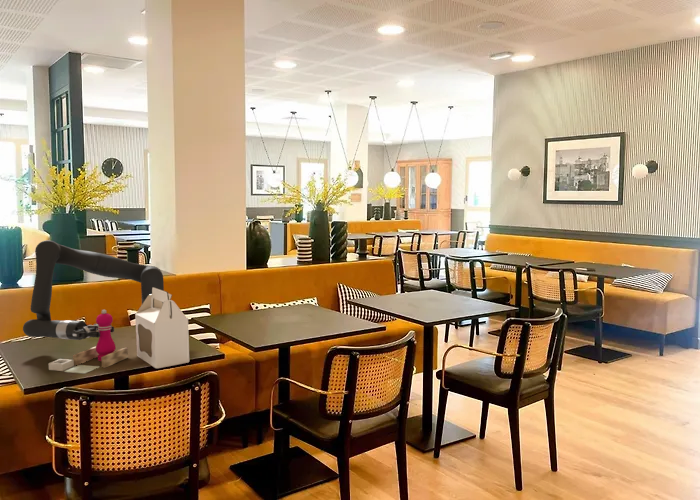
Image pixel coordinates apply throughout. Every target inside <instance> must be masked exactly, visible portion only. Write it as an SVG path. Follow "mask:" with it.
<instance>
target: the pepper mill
mask: <svg viewBox="0 0 700 500" xmlns="http://www.w3.org/2000/svg"><path fill="white" fill-rule="evenodd" d="M112 323H113V316H112V314H110V313H107V310H106V309H101V313H100V314H98V315H97V317H96V319H95V324H98V325H99V326H98V330H99V332H100V337H98V340H97V342H96V345H95V346H96V352H97V353H98V354H99V355H98V357H97V361H99V362H102V360H101V357H103V356H105V355H108V354H110V353H112V352H115V351H116V343H115V341H114V340H113V337H112V332H110V331H111V329H112V327H113V326H112ZM111 326H112V327H111ZM98 330H97V331H98Z"/></svg>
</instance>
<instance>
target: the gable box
mask: <svg viewBox="0 0 700 500" xmlns="http://www.w3.org/2000/svg"><path fill="white" fill-rule="evenodd" d="M172 296H173V294H171V293H169V291H165V290H164V291H163V290H161V289H158V288H155V287H153V288H152V294H150V295H148V296H147V298H146V299H145V301H144V302H143V304H142V303H141V305H140V306H139V308H138V309H137V311H136V313H135V314H134V316H135V318H134V321H135V336H136V337H135V339H136V340H135V341H136V343H135V344H136V356H137V357H138V358H140V359H141V360H142V361H144V362H145V363H147V364H149V365H150V366H152V367H153V368H154V369H162V368H166V367H167V368H168V367H171V366H177V365H182V364H186V363H187V364H188V363H189V362H190V342H189V340H190V338H189V318H188V317H187V316H186V315H185V314H184V313H183V311H182V310H181V309H180V307H179V306H178V305H177V303H176V302H175V301H174V300H172ZM162 302H164V303H162Z"/></svg>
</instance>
